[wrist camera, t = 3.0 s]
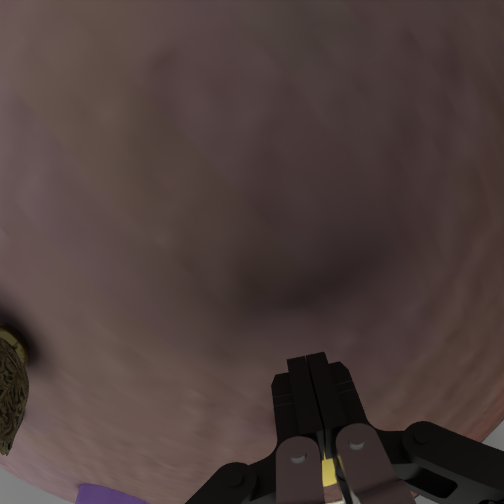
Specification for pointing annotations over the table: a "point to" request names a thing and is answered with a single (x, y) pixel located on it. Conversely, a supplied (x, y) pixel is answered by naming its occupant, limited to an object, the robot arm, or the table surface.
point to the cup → (12, 384)
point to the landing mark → (336, 502)
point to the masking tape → (104, 496)
